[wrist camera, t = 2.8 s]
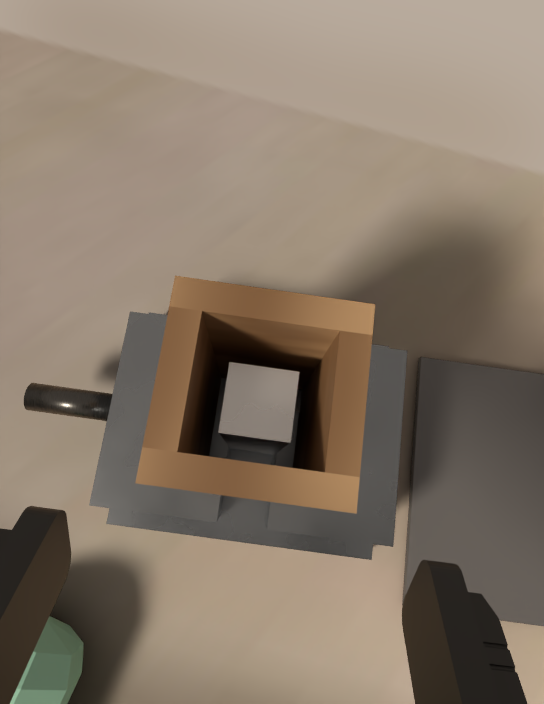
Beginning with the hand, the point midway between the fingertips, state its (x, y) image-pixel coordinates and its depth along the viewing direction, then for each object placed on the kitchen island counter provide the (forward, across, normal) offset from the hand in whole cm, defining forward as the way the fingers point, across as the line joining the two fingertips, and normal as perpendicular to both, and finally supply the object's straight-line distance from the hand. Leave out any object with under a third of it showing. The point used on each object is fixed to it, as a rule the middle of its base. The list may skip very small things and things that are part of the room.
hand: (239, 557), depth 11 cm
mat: (+11, -14, +7) cm, 19 cm away
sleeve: (+9, 0, +3) cm, 9 cm away
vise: (+12, +2, +7) cm, 14 cm away
